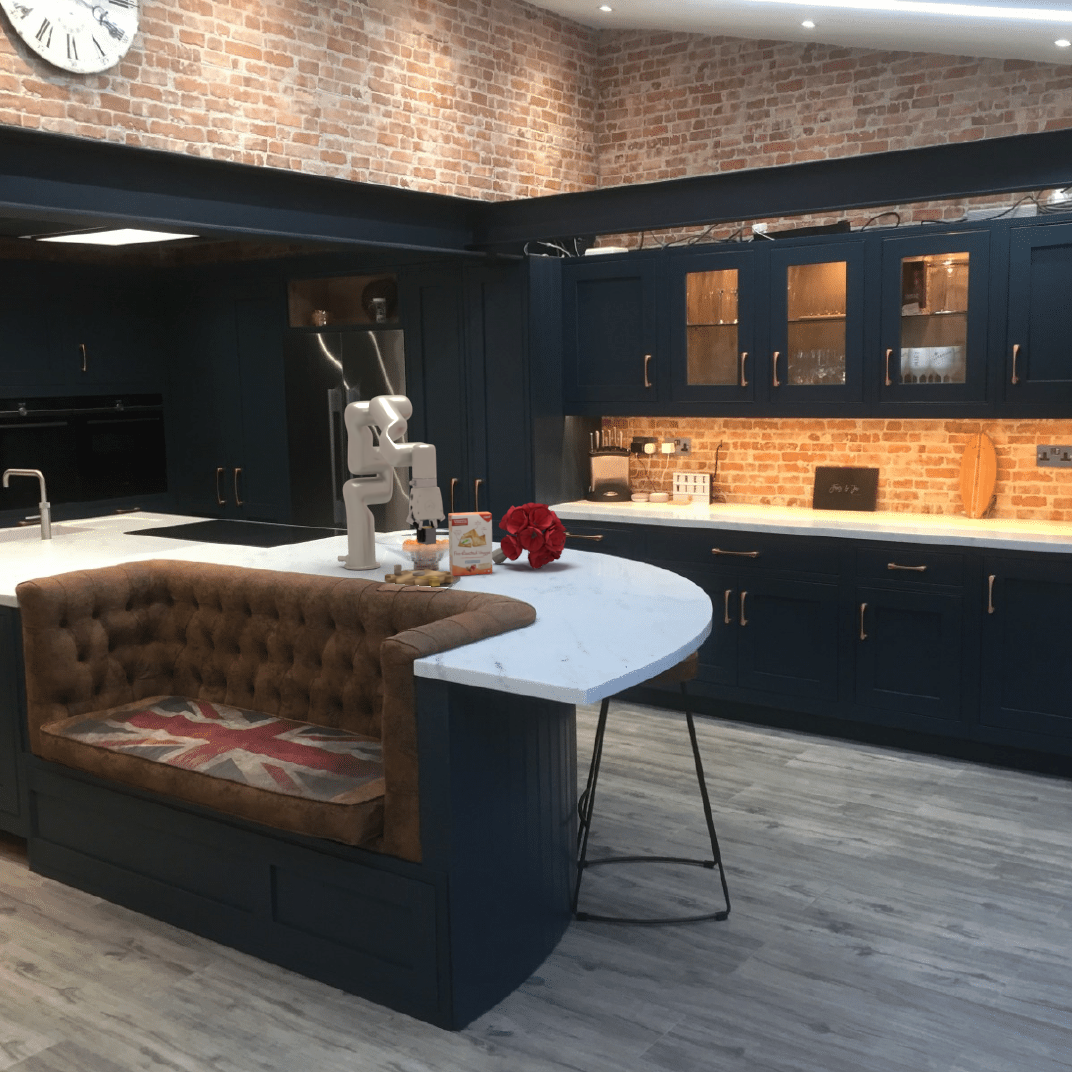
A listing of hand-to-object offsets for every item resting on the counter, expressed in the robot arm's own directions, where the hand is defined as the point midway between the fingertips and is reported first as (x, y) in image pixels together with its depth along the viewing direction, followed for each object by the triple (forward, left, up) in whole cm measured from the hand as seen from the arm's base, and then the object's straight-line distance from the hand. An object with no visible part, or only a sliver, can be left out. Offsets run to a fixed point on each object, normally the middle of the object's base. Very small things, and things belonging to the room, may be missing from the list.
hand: (426, 540), depth 372 cm
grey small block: (0, 0, -1) cm, 1 cm away
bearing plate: (-4, +4, -15) cm, 16 cm away
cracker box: (+8, +26, -15) cm, 31 cm away
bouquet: (+24, +42, -15) cm, 51 cm away
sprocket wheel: (-4, +4, -14) cm, 15 cm away
